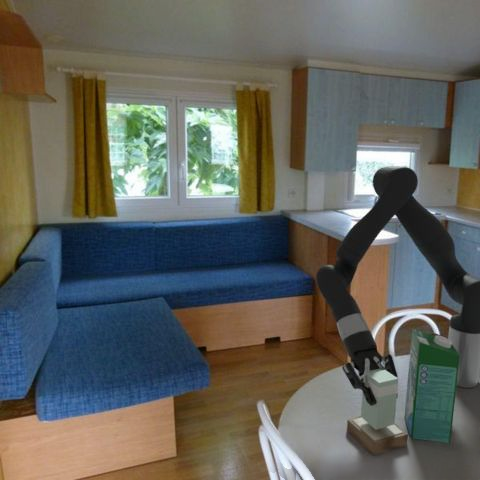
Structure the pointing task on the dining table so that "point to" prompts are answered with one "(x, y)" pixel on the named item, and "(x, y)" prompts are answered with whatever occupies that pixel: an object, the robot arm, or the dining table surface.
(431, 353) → the milk carton
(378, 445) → the walnut podium
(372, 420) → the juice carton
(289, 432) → the dining table surface
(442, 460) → the dining table surface
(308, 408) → the dining table surface
